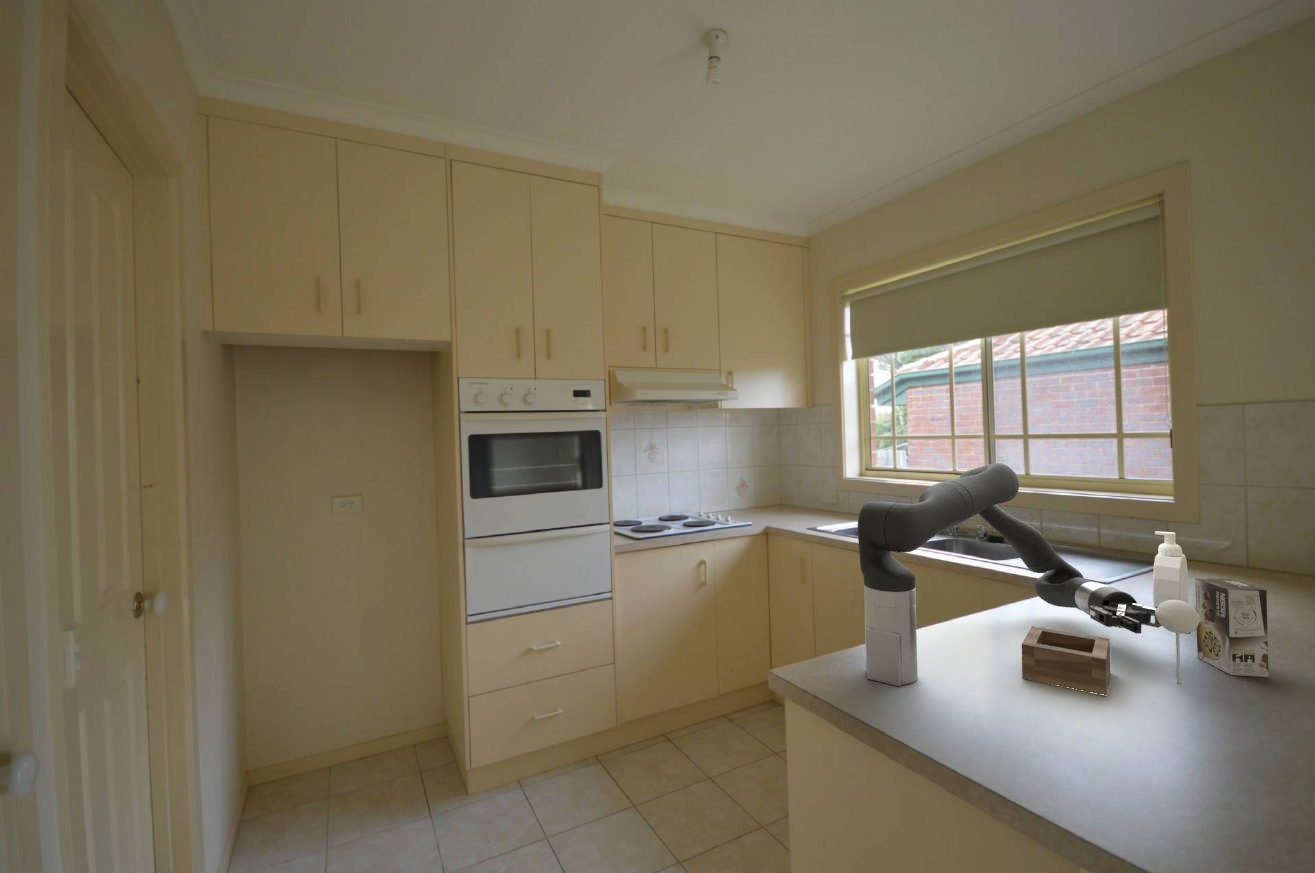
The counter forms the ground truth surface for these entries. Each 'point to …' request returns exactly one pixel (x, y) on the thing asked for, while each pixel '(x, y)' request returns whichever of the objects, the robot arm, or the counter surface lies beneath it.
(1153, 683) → the counter surface
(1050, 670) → the base
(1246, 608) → the coffee box
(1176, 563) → the soap bottle
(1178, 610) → the lollipop
